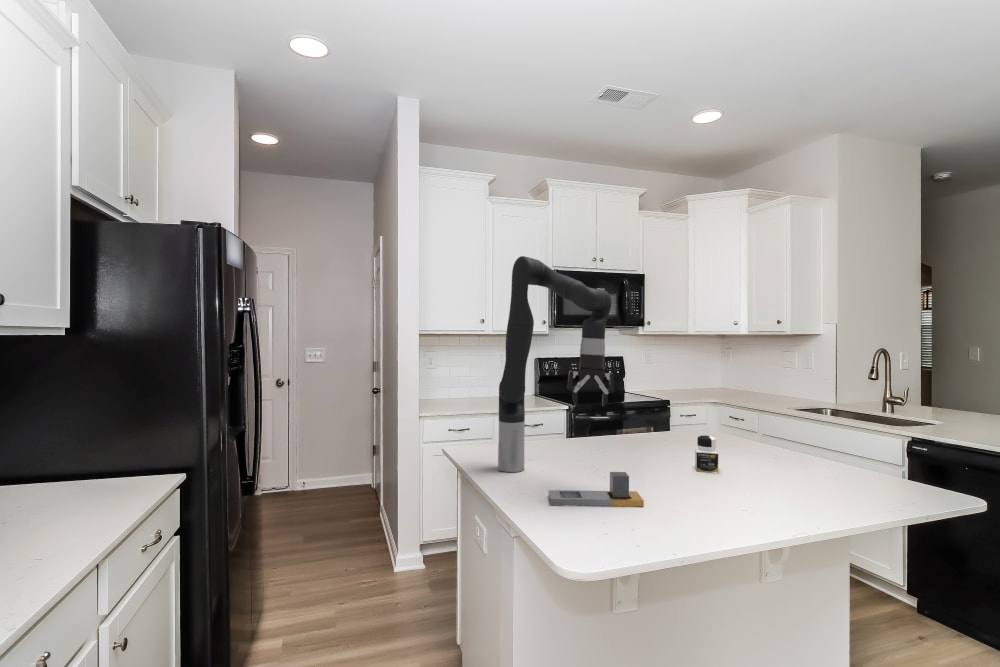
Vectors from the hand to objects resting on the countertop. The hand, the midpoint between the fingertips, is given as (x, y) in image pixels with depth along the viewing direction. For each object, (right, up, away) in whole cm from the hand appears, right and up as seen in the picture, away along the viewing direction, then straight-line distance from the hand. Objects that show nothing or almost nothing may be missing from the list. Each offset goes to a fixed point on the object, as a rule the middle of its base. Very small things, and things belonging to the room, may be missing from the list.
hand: (589, 405), depth 156 cm
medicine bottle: (+46, -27, +24) cm, 59 cm away
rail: (-1, -26, -11) cm, 28 cm away
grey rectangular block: (+6, -26, -11) cm, 29 cm away
